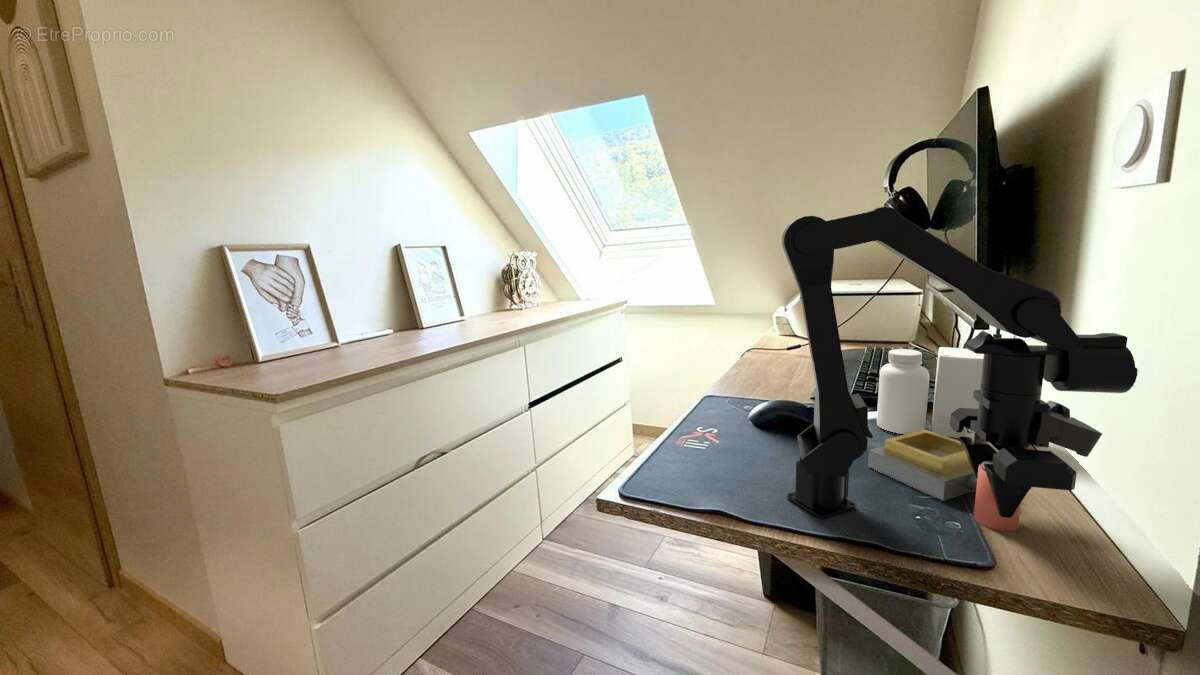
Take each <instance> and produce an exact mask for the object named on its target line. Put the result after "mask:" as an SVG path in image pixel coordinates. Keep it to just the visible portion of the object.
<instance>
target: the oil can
mask: <svg viewBox="0 0 1200 675" xmlns="http://www.w3.org/2000/svg"><path fill="white" fill-rule="evenodd" d="M984 464H993V461H984V462H982V464H980V465H979V468H978V478H977V488H976V492H975V501H974V508H973V519H974V520H975V522H977V523H978V524H980V525H982V526H984V527H986V528H989V529H990V530H995V531H999V532H1000V531H1001V532H1015V531H1018V530H1019V526H1020V525H1019V524H1020V518H1021V507H1022V502H1021V503H1020V505H1019V507H1018V508H1017V510H1016V511H1015V513H1014V514H1013V516H1012V517H1011V518H1006V517H1001V516H1000V514H999V512H998V509H997V506H996V503H995V499H994V496H993V493H992V490H991V486H990V483H989V480H988V477H987V474H986V470H985V467H984Z"/></svg>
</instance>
